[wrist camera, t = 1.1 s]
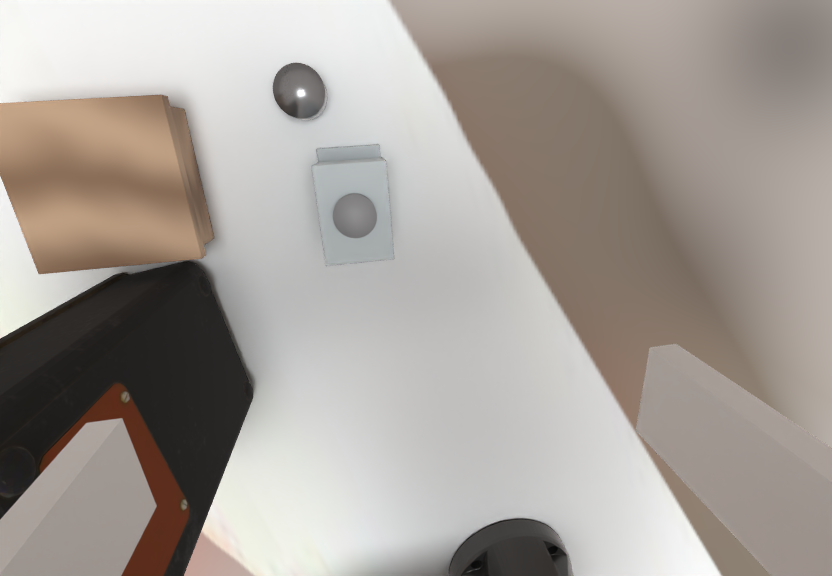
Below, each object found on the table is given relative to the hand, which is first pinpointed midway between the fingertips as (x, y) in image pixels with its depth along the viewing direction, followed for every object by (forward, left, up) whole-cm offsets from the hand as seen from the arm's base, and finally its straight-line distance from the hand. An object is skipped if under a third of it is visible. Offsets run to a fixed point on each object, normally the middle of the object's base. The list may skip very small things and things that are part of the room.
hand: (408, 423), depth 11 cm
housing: (+2, +1, -28) cm, 28 cm away
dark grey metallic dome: (+10, +4, -28) cm, 30 cm away
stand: (+5, +18, -28) cm, 33 cm away
